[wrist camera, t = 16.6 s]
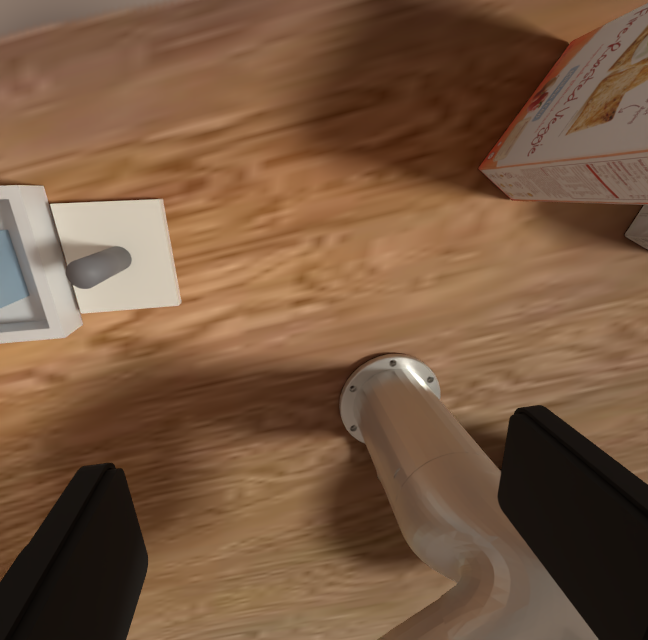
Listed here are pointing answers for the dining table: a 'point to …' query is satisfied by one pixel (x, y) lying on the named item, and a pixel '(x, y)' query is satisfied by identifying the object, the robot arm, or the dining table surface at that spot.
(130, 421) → the dining table surface
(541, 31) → the dining table surface
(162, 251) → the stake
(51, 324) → the tray
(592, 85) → the cracker box
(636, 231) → the coffee box
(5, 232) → the collar
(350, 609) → the dining table surface
